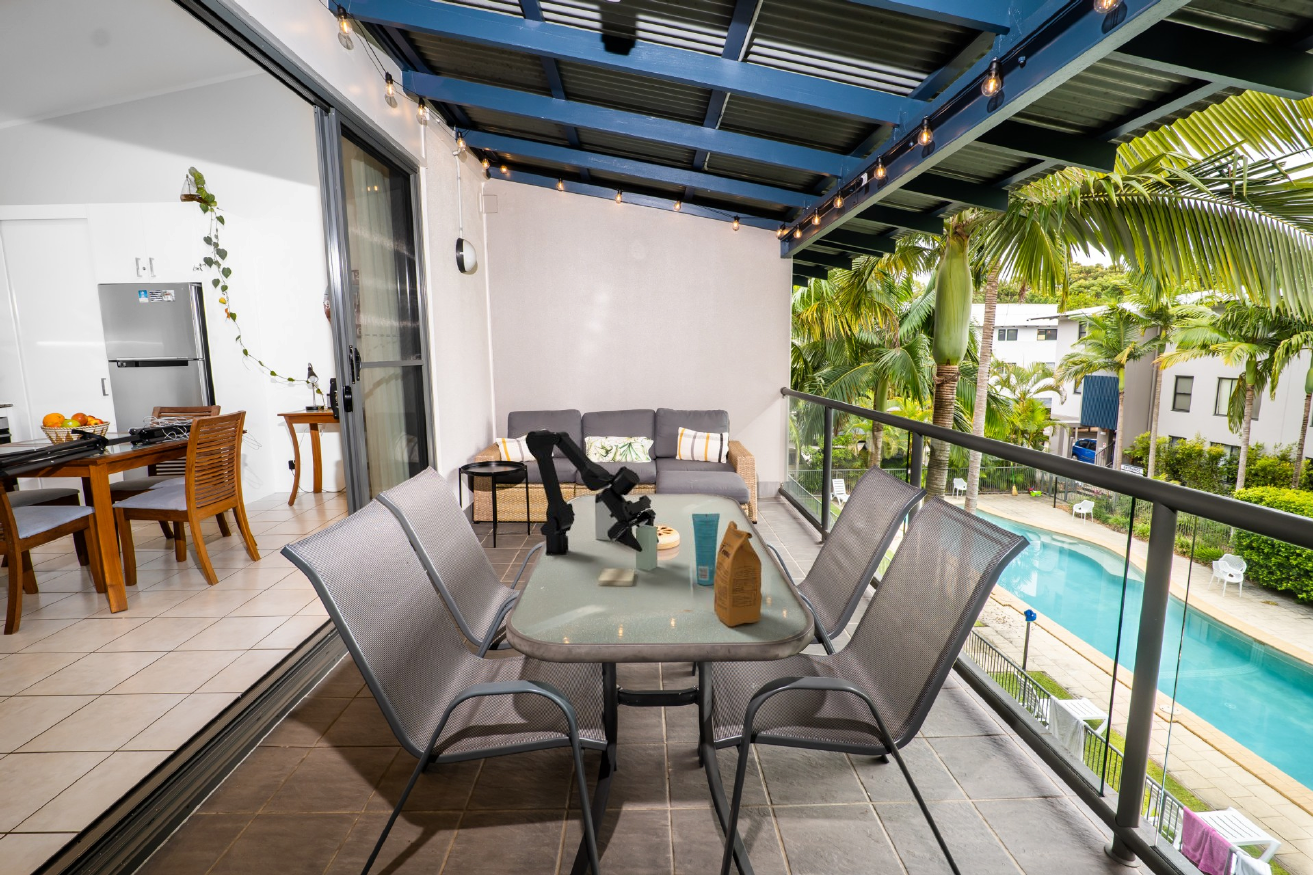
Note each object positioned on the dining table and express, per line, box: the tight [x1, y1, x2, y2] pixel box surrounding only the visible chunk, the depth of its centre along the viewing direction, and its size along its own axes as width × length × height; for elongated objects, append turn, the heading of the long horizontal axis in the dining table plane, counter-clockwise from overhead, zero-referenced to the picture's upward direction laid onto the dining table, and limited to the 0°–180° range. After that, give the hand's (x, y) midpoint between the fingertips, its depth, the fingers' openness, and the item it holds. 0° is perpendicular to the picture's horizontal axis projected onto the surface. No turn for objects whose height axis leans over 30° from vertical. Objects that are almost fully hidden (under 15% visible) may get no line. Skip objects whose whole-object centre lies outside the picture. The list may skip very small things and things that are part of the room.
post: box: [635, 525, 658, 572], centre depth 174 cm, size 4×4×12 cm
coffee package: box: [713, 520, 763, 627], centre depth 141 cm, size 10×12×22 cm
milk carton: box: [594, 485, 618, 542], centre depth 207 cm, size 7×7×19 cm
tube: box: [691, 512, 720, 586], centre depth 164 cm, size 7×5×19 cm, turn 100°
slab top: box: [597, 568, 636, 587], centre depth 165 cm, size 9×9×2 cm
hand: (649, 546), depth 174 cm, fingers open, 9 cm apart
